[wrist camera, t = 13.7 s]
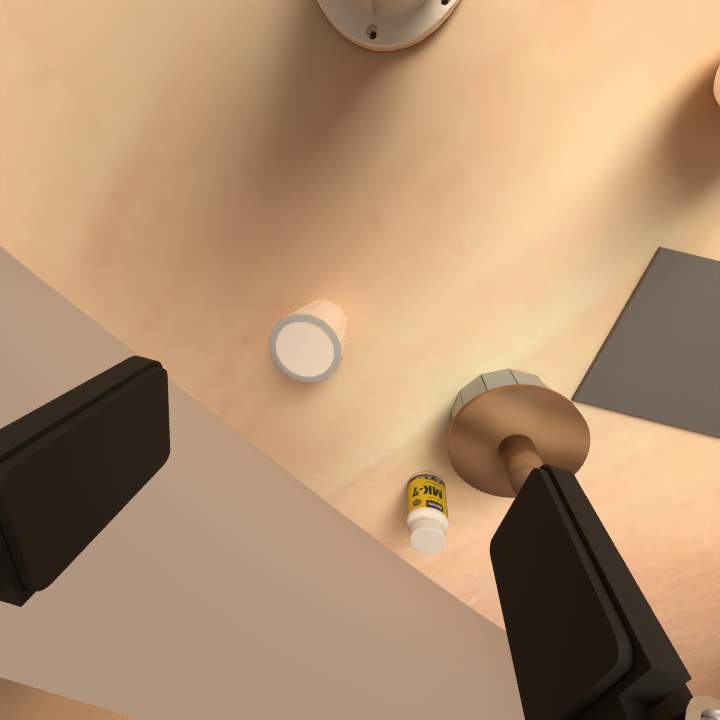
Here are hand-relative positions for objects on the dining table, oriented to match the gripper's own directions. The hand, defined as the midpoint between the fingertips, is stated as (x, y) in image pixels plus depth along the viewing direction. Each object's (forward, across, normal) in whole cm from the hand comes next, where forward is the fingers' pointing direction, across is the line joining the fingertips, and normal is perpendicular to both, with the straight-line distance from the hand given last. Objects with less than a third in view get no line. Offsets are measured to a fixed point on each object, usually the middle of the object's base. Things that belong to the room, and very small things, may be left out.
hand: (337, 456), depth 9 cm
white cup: (+28, +6, +8) cm, 30 cm away
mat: (+28, -30, +1) cm, 41 cm away
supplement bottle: (+28, -11, +26) cm, 40 cm away
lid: (+23, -16, +13) cm, 31 cm away
